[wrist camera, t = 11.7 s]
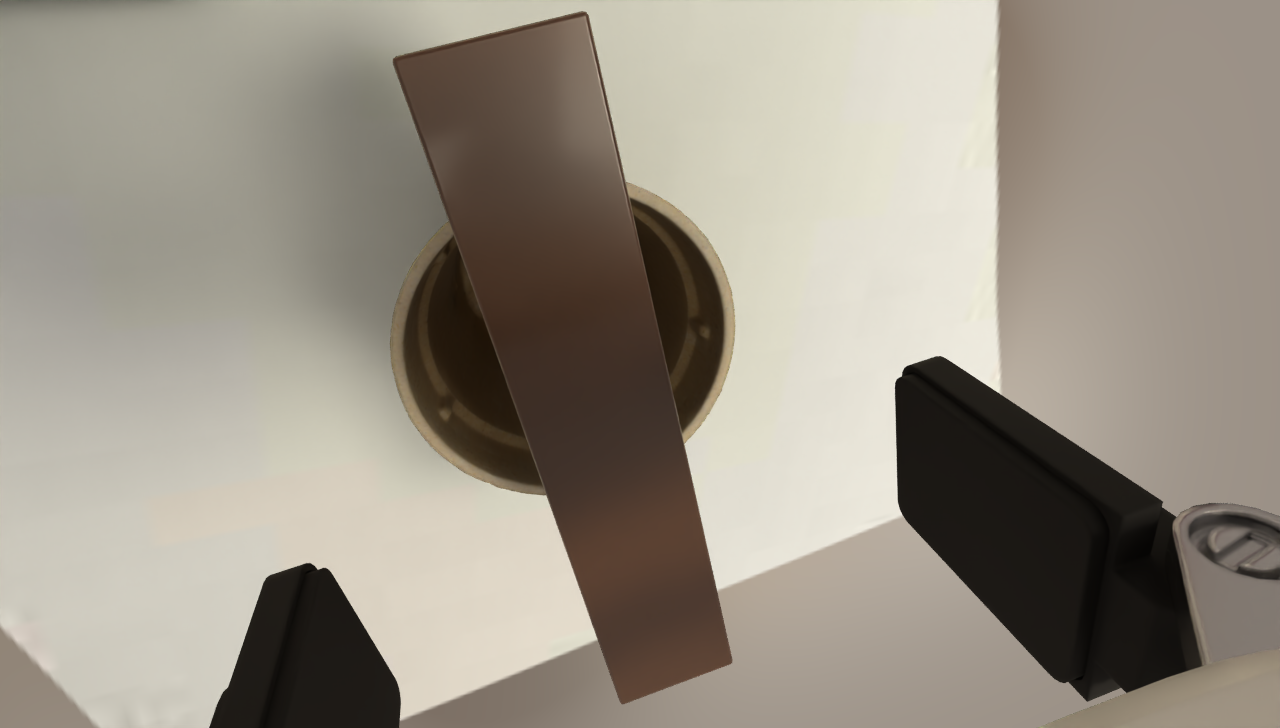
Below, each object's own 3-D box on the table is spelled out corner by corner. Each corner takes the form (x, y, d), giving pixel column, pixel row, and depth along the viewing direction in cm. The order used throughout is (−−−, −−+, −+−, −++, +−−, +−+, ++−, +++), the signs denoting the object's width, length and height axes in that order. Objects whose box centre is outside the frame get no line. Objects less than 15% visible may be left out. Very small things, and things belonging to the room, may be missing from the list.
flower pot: (384, 149, 23) (347, 198, 15) (650, 123, 25) (736, 156, 17) (437, 391, 27) (430, 525, 19) (662, 354, 29) (736, 463, 21)
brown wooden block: (409, 55, 14) (389, 57, 10) (552, 21, 15) (588, 9, 11) (590, 584, 22) (621, 706, 18) (683, 552, 22) (733, 664, 18)
